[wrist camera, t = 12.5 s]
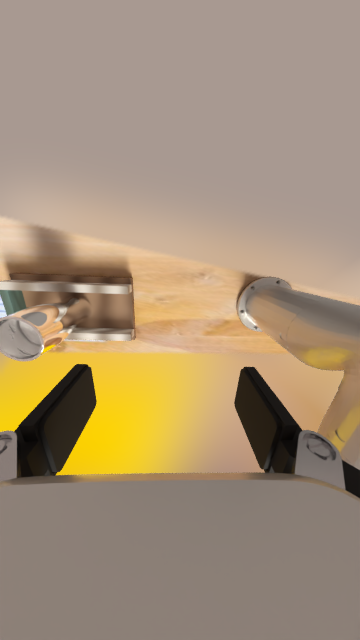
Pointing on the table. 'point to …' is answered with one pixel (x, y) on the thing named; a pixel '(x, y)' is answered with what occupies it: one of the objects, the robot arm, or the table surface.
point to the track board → (101, 292)
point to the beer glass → (41, 327)
